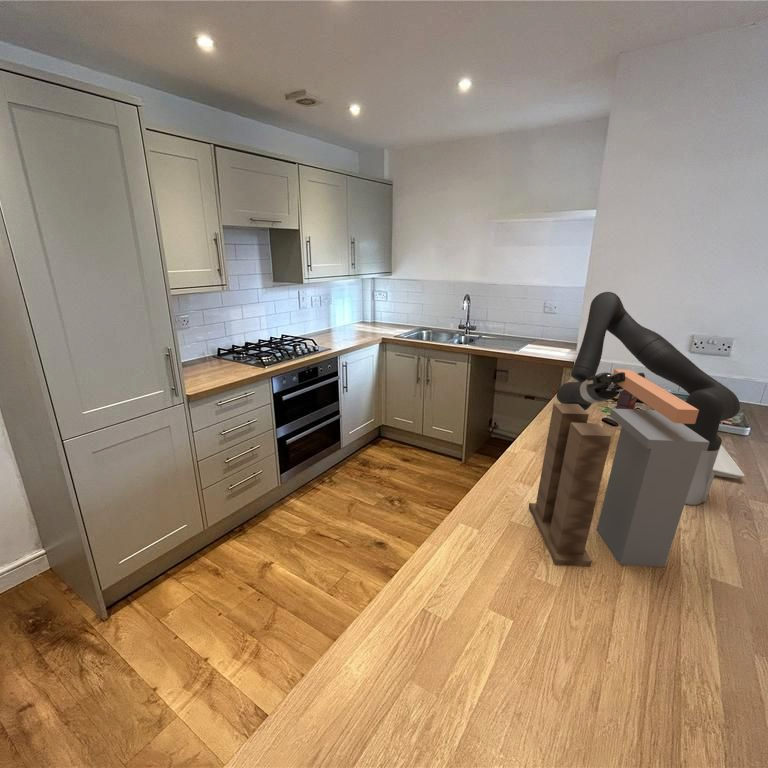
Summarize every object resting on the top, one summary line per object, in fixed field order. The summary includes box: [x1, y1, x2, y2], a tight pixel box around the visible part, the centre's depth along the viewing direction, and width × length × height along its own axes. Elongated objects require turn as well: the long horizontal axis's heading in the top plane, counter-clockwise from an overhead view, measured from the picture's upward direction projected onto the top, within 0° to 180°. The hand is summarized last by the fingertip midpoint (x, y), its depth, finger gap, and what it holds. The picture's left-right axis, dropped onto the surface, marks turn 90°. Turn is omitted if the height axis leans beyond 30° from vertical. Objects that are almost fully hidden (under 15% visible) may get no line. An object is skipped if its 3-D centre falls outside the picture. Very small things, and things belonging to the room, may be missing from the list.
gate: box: [528, 402, 612, 568], centre depth 98 cm, size 8×21×32 cm, turn 178°
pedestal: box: [596, 408, 710, 568], centre depth 96 cm, size 12×16×32 cm
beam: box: [612, 368, 699, 424], centre depth 94 cm, size 26×4×3 cm, turn 178°
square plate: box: [712, 444, 745, 479], centre depth 143 cm, size 27×27×4 cm
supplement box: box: [615, 390, 638, 409], centre depth 169 cm, size 9×5×16 cm, turn 132°
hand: (633, 376), depth 100 cm, fingers closed on beam, 4 cm apart
